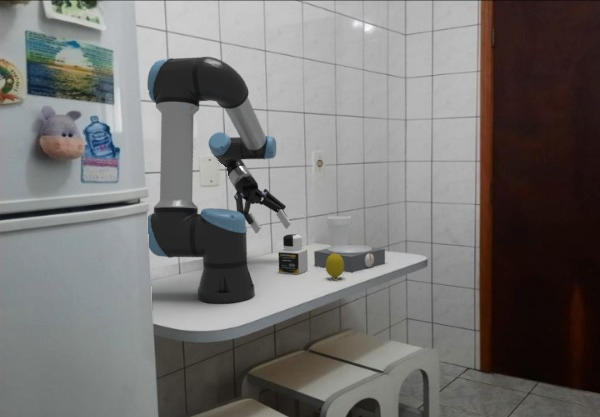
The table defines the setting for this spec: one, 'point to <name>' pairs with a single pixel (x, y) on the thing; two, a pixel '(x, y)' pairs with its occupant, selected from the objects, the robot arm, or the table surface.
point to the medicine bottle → (293, 255)
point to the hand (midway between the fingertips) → (273, 228)
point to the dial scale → (352, 256)
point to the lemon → (335, 265)
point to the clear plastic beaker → (339, 229)
